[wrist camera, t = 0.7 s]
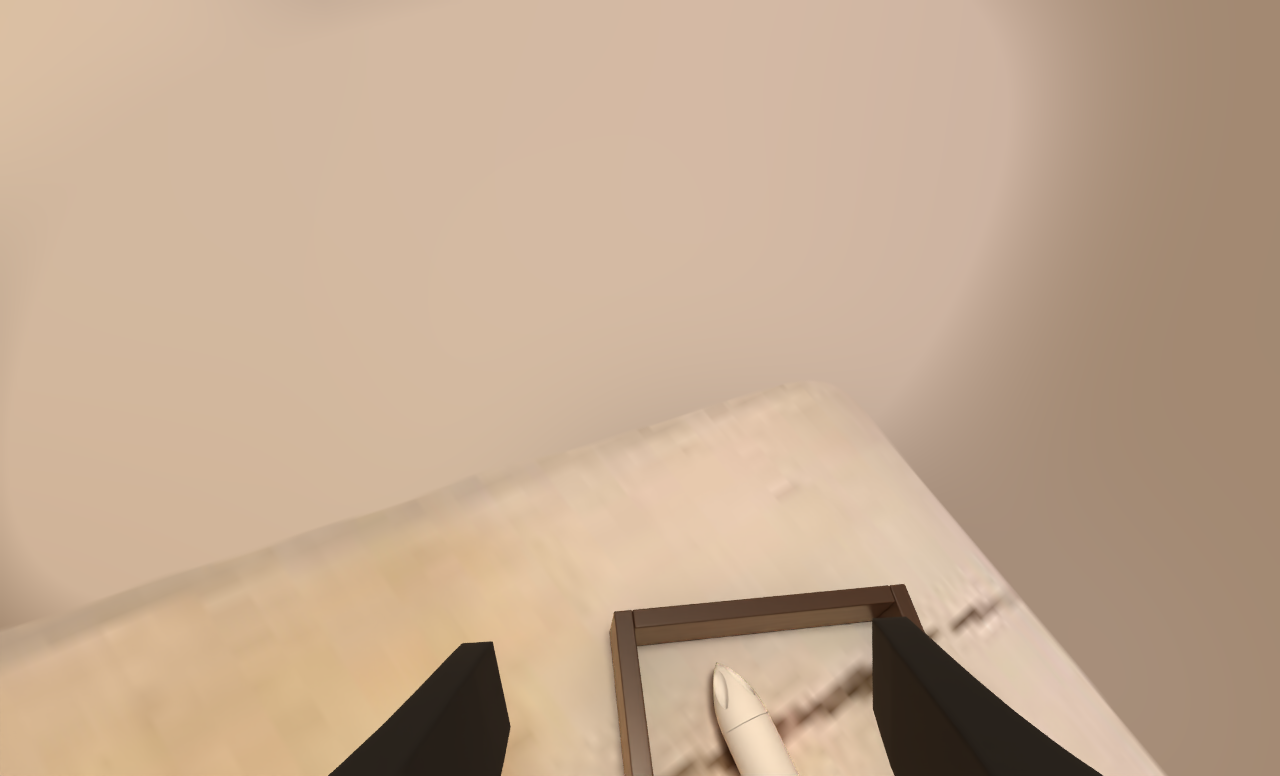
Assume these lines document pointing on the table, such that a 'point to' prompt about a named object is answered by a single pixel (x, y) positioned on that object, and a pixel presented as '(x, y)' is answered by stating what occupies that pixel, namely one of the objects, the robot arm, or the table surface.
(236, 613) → the table surface
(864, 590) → the open rectangular brown frame
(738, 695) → the marker
